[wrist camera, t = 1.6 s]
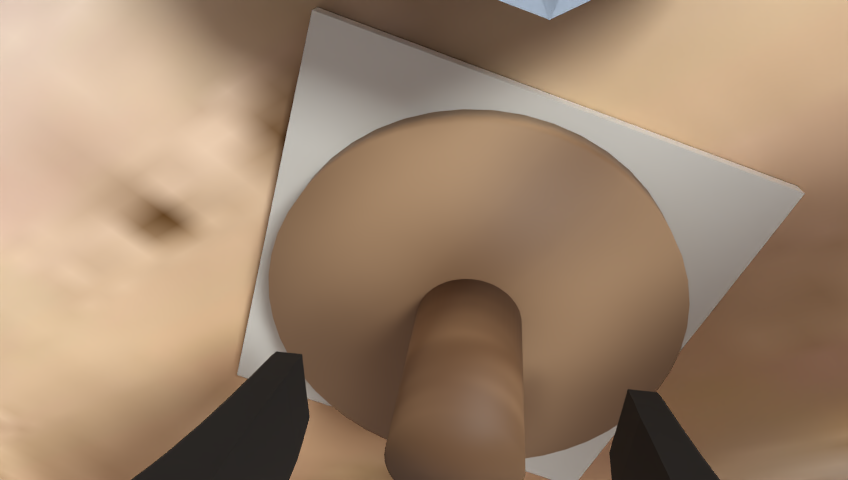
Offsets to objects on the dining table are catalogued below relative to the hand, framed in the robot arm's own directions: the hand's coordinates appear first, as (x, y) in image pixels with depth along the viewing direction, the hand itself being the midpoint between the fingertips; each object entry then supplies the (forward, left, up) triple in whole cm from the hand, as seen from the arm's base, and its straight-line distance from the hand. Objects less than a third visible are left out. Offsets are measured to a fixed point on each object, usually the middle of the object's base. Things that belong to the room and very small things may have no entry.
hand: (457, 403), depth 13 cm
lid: (0, 0, -4) cm, 4 cm away
